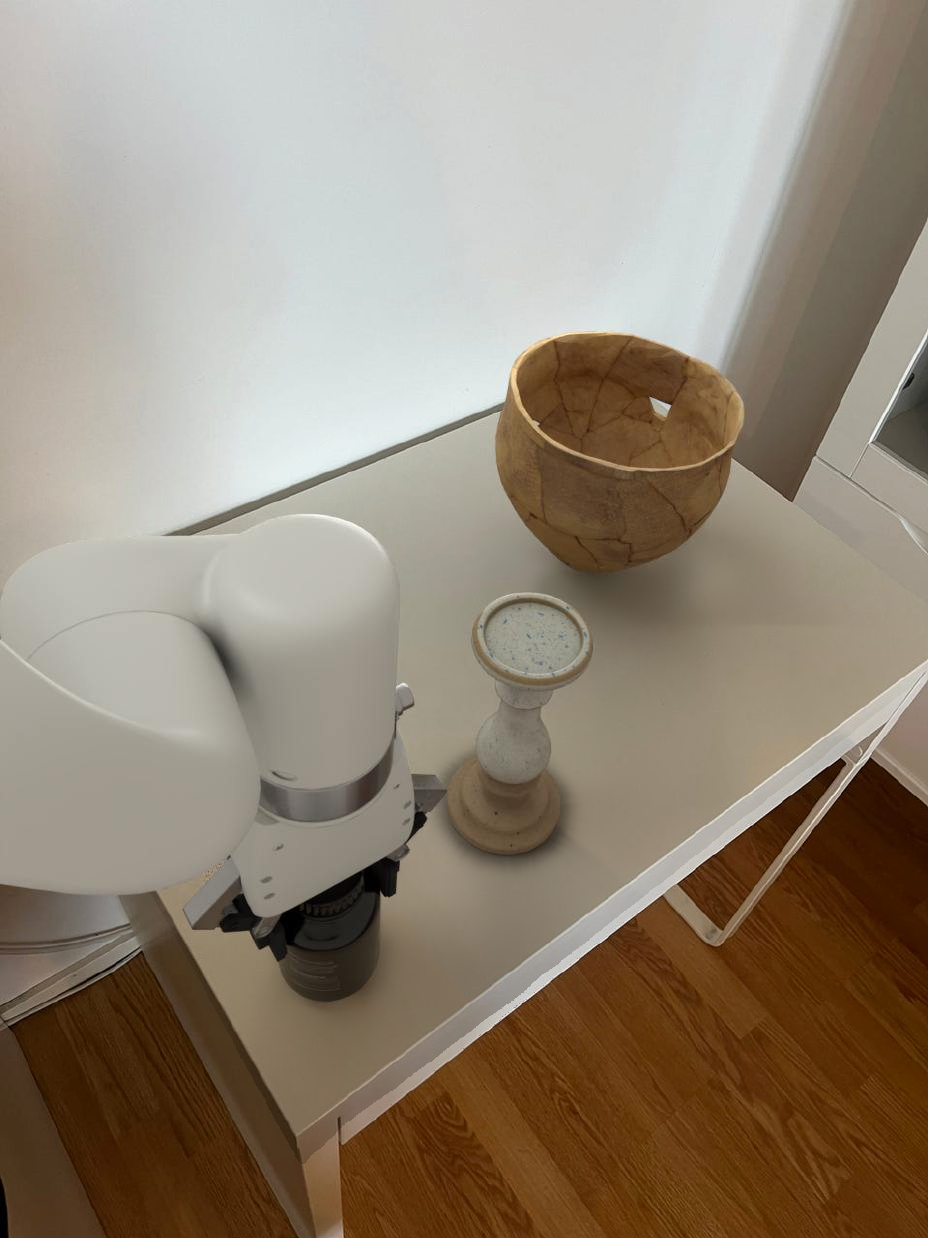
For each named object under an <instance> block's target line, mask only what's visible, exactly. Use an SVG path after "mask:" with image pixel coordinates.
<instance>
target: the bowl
mask: <svg viewBox="0 0 928 1238" xmlns="http://www.w3.org/2000/svg"><path fill="white" fill-rule="evenodd" d="M737 390H738V389H736V387H735V386H734V384H732V382H731V381H730V380H729V379H728V378H727V377H726V376H724V375H723V374H722V373H721V372H720V371H719V370H718V369H716V368H715V367H714V366H713V365H711V364H709V363H708V362H705V361H703V360H702V359H699V358H697V357H696V358H695V357H693V356H690V355H688V354H686V353H684V352H683V351H680V350H678V349H675V348H674V347H672V346H669V345H667V344H664V343H661V342H658V341H655V340H653V339H649V338H645V337H642V336H639V335H635V334H631V333H625V332H619V331H618V332H617V331H596V330H593V331H591V330H589V331H571V332H569V331H568V332H564V333H560V334H557V335H553V336H549V337H546V338H544V339H540V340H538V341H537V342H535V343H534V344H531V346H529V347H528V348H526V349H525V350H523V351H522V352H521V354H519V356H518V357H517V358H516V359H515V360H514V362H513V364H512V367H511V370H510V373H509V378H508V384H507V389H506V394H505V399H504V400H505V401H504V404H503V407H502V409H501V411H500V414H499V416H498V420H497V425H496V432H495V435H494V436H495V437H494V451H495V464H496V469H497V473H498V477H499V480H500V483H501V486H502V488H503V491H504V493H505V494H506V496H507V498H508V500H509V501H510V503H511V505H512V507H513V508H514V510H515V512H516V514H517V515H518V517H519V519H520V520H521V521H522V523H523V524H524V525H525V527H526V528H527V529H528V530H529V532H531V533H532V534H533V536H534V537H535V538H536V539H537V540H538V541H539V542H540V543H541V544H542V545H543V546H544V547H545V548H546V549H547V550H548V551H549V552H550V553H551V555H553V556H554V558H556V559H557V560H558V561H560V563H562V564H564V565H565V566H567V567H569V568H571V569H573V570H575V571H577V572H581V573H585V574H595V575H603V574H612V573H616V572H619V571H624V570H627V569H630V568H634V567H637V566H640V565H643V564H647V563H651V562H652V561H656V560H658V559H660V558H663V556H665V555H668V554H670V553H672V552H674V551H676V550H677V549H678V548H679V547H681V546H682V545H684V543H686V542H687V541H688V540H689V539H691V538H692V537H693V536H694V535H695V534H696V533H697V532H698V530H699V529H700V528H701V527H702V526H703V525H704V524H705V523H706V521H707V520H708V519H709V517H711V515H712V513H713V512H714V510H715V509H716V507H717V506H718V505H719V502H720V501H721V499H722V497H723V495H724V493H725V490H726V488H727V486H728V485H727V484H728V481H729V478H730V474H731V467H732V459H733V455H734V452H735V449H736V446H737V443H738V438H739V435H740V432H741V431H742V429H743V427H744V421H745V404H744V401H743V399H742V397H741V395H740V394H739V393H738V391H737ZM652 399H653V400H656V401H659V402H661V403H663V404H666V405H669V409H668V411H667V414H666V416H664V415H663V414H660V413H659V412H656V410H655V408H654V405H653V403H652ZM535 422H536V423H538V424H536V423H535Z"/></svg>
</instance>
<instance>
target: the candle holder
mask: <svg viewBox="0 0 928 1238" xmlns="http://www.w3.org/2000/svg"><path fill="white" fill-rule="evenodd" d="M470 636H471V637H470V642H471V644H470V645H471V649H472V652H473V656H474V657H475V659H476V661H477V662H478V664H479V665H480V667H481V668H482V670H483V671H485V672H486V673H487V675H489V676H490V677H491V678H493V679H494V680H495V681H494V688H495V689H494V690H495V692H496V694H497V696H498V698H499V699H500V702H499V706H498V709H497V710H496V711H495V712H493V713H492V714H491V715H490V716H489V717H488V718H487V719H486V720H485V721H484V722H483V724H482V725H481V727H480V728H479V731H478V732H477V735H476V738H475V748H474V749H475V756H473V757H470V758H469V759H467V760H466V761H465V762H464V763H462V764H461V765H460V766H459V767H458V769H457V770H456V771H455V772H454V774H453V775H452V777H451V780H450V782H449V785H448V788H447V793H446V794H447V796H446V806H447V811H448V816H449V819H450V821H451V823H452V825H453V827H454V828H455V830H456V831H457V832H458V834H459V835H460V836H461V837H462V838H463V839H464V840H465V841H467V842H468V843H469V844H471V845H473V846H474V847H476V848H478V849H480V850H482V851H485V852H487V853H491V854H496V855H517V854H523V853H525V852H528V851H531V850H533V849H535V848H537V847H539V846H540V845H541V844H542V843H544V842H545V841H546V840H547V839H548V838H549V836H551V835H552V833H553V831H554V830H555V828H556V825H557V823H558V821H559V818H560V813H561V795H560V791H559V788H558V786H557V783H556V781H555V780H554V778H553V776H552V775H551V774H550V772H549V771H548V770H547V769H546V767H547V766H548V764H549V762H550V759H551V755H552V742H551V737H550V734H549V731H548V729H547V726H546V724H545V723H544V721H543V720H542V718H541V713H542V707H544V706H545V705H547V703H549V701H550V700H551V698H552V697H553V693H554V691H555V690H558V689H562V688H564V687H567V686H568V685H570V684H572V683H573V682H575V681H576V680H578V679H579V678H580V677H581V676H583V674H584V673H585V672H586V670H587V669H588V667H589V666H590V663H591V661H592V658H593V654H594V638H593V633H592V630H591V628H590V626H589V624H588V621H586V619H585V617H584V616H583V615H582V614H581V613H580V612H579V611H578V610H577V609H576V608H575V607H574V606H572V605H571V604H569V603H568V602H566V601H564V600H562V599H560V598H558V597H555V596H553V595H550V594H547V593H542V592H534V591H520V592H514V593H509V594H506V595H503V596H501V597H498V598H496V599H494V600H492V601H491V602H490V603H488V604H487V605H486V606H485V607H484V608H483V609H482V610H481V611H480V613H478V615H477V617H476V619H475V620H474V622H473V626H472V628H471V635H470Z"/></svg>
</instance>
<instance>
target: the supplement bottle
mask: <svg viewBox="0 0 928 1238" xmlns="http://www.w3.org/2000/svg"><path fill="white" fill-rule="evenodd" d="M381 907H382V896H381V891H380V888H379V884H378V881H377V878H376V876H375V874H374V872H373V871H372V869H371V868H370V867H369V866H368V867H366V868H364V869H362V870H361V871H359V872H357V873H355V874H354V875H352V876H350V877H348V878H346V879H345V880H343V881H341V882H339V883H337V884H336V885H334V886H332V887H330V888H328V889H326V890H325V891H323V892H321V893H319V894H317V895H316V896H314V897H312V898H310V899H308V900H306V901H304V902H303V903H301V904H299V905H297V906H295V907H293V908H291V909H289V910H287V911H285V912H283V913H282V915H281V916H280V918H279V920H280V922H281V924H282V926H283V928H284V931H285V938H286V945H287V952H288V954H286V955H285V956H286V958H284V959H282V960H281V961H279V962H277V963H278V966H279V967H278V968H279V970H280V974H281V975H282V978H283V979H284V981H285V983H286V984H287V985H288V987H289V988H290V989H292V990H293V991H294V992H295V993H296V994H298V995H299V996H300V997H302V998H304V999H307V1000H309V1001H313V1002H317V1003H333V1002H339V1001H342V1000H345V999H348V998H350V997H351V996H353V995H355V994H357V993H358V992H359V991H360V990H361V989H363V987H365V986H366V984H367V983H368V982H369V981H370V979H371V978H372V976H373V975H374V973H375V971H376V968H377V966H378V962H379V957H380V947H381V913H382V912H381V909H382V908H381Z"/></svg>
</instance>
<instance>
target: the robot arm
mask: <svg viewBox="0 0 928 1238" xmlns="http://www.w3.org/2000/svg"><path fill="white" fill-rule="evenodd" d="M400 617H401V586H400V579H399V575H398V571H397V569H396V566H395V563H394V561H393V560H392V557H391V556H390V554H389V552H388V551H387V549H386V548H385V547H384V546H383V545H382V543H381V542H380V541H379V540H378V539H377V538H376V537H374V536H373V535H372V534H371V533H369V532H368V531H366V529H364V528H363V527H360V525H359V526H358V525H357V524H355V523H353V522H351V521H348V520H345V519H342V518H340V517H336V516H331V515H326V514H319V513H318V514H317V513H293V514H287V515H281V516H278V517H274V518H270V519H267V520H263V521H262V522H259V523H257V524H255V525H253V526H252V527H250V528H248V529H246V530H245V531H242V532H239V533H223V534H205V535H140V536H139V535H138V536H137V535H136V536H134V535H133V536H108V537H94V538H88V539H87V538H86V539H81V540H80V539H79V540H73V541H70V542H66V543H62V544H60V545H59V544H58V545H56V546H53V547H50V548H48V549H45V550H42V551H41V552H38V553H37V554H35V555H33V556H32V557H29V558H28V559H27V560H25V561H24V562H23V563H22V564H21V565H20V566H18V567H17V568H16V570H14V572H13V573H12V574H11V576H10V577H9V578H8V580H7V581H6V583H5V585H4V587H3V590H2V592H1V595H0V885H5V886H12V887H19V888H24V889H32V890H40V891H50V892H55V893H61V894H67V895H83V896H85V895H86V896H111V897H113V896H128V895H139V894H146V893H151V892H157V891H161V890H162V891H163V890H167V889H169V888H172V887H176V886H179V885H182V884H185V883H188V882H189V881H191V880H193V879H196V878H198V877H199V876H202V875H203V874H207V873H208V872H210V871H212V870H213V869H215V867H217V866H219V865H220V864H222V863H223V864H222V866H220V867H219V868H218V870H216V871H215V872H214V874H213V875H212V876H211V877H210V878H209V879H208V880H207V881H206V882H205V883H204V885H202V886H201V888H199V890H198V891H197V892H196V893H195V894H194V895H193V896H192V897H191V898H190V899H189V901H187V902H186V903H185V904H184V906H183V907H182V912H183V914H184V916H185V918H186V920H187V922H188V924H189V926H190V928H191V930H193V931H214V930H216V929H217V928H218V929H219V928H220V930H221V932H222V933H225V934H226V933H239V932H249V935H250V936H251V939H252V940H253V943H254V944H255V946H256V948H257V949H258V951H262V950H263V949H265V948H267V947H269V949H270V951H271V953H272V955H273V957H274V959H275V961H276V962H277V963H278V962H279V961H281V960H282V959H284V958H286V956H285V955H286V954H288V952H287V945H286V938H285V931H284V928H283V926H282V924H281V922H280V920H279V918H280V916H281V915H282V913H283V912H285V911H287V910H289V909H291V908H293V907H295V906H297V905H299V904H301V903H303V902H304V901H306V900H308V899H310V898H312V897H314V896H316V895H317V894H319V893H321V892H323V891H325V890H326V889H328V888H330V887H332V886H334V885H336V884H337V883H339V882H341V881H343V880H345V879H346V878H348V877H350V876H352V875H354V874H355V873H357V872H359V871H361V870H362V869H364V868H366V867H368V866H369V867H370V868H371V869H372V871H373V872H374V874H375V876H376V878H377V881H378V884H379V888H380V894H382V896H383V897H384V898H388V899H390V898H391V897H393V896H394V895H396V894H397V887H398V886H397V885H398V873H399V872H400V870H401V860H403V859H404V858H406V857H407V856H408V855H409V853H410V852H411V849H410V847H409V846H408V842H410V841H411V839H412V838H413V837H414V836H415V835H416V834H417V833H418V832H419V830H421V829H422V828H423V827H424V826H425V824H426V822H427V821H428V817H427V814H428V813H431V812H432V811H433V810H434V809H435V808H436V807H437V806H438V804H439V803H440V802H441V800H442V799H443V798H444V797H445V795H446V794H447V793H448V789H447V788H446V787H445V785H444V784H443V783H442V782H441V781H440V779H439V778H438V776H437V775H436V774H430V773H429V774H428V773H425V774H424V773H412V772H411V767H410V762H409V760H408V756H407V753H406V752H407V751H406V749H405V746H404V743H403V739H402V737H401V735H400V733H399V731H398V729H397V726H398V725H397V724H398V722H397V721H399V720H400V717H401V716H402V715H404V712H405V711H407V710H409V709H411V708H414V707H415V697H414V695H413V692H412V691H411V689H410V687H409V686H408V684H406V683H405V682H400V683H398V684H397V678H398V656H399V640H400V639H399V637H400V636H399V635H400Z"/></svg>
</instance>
